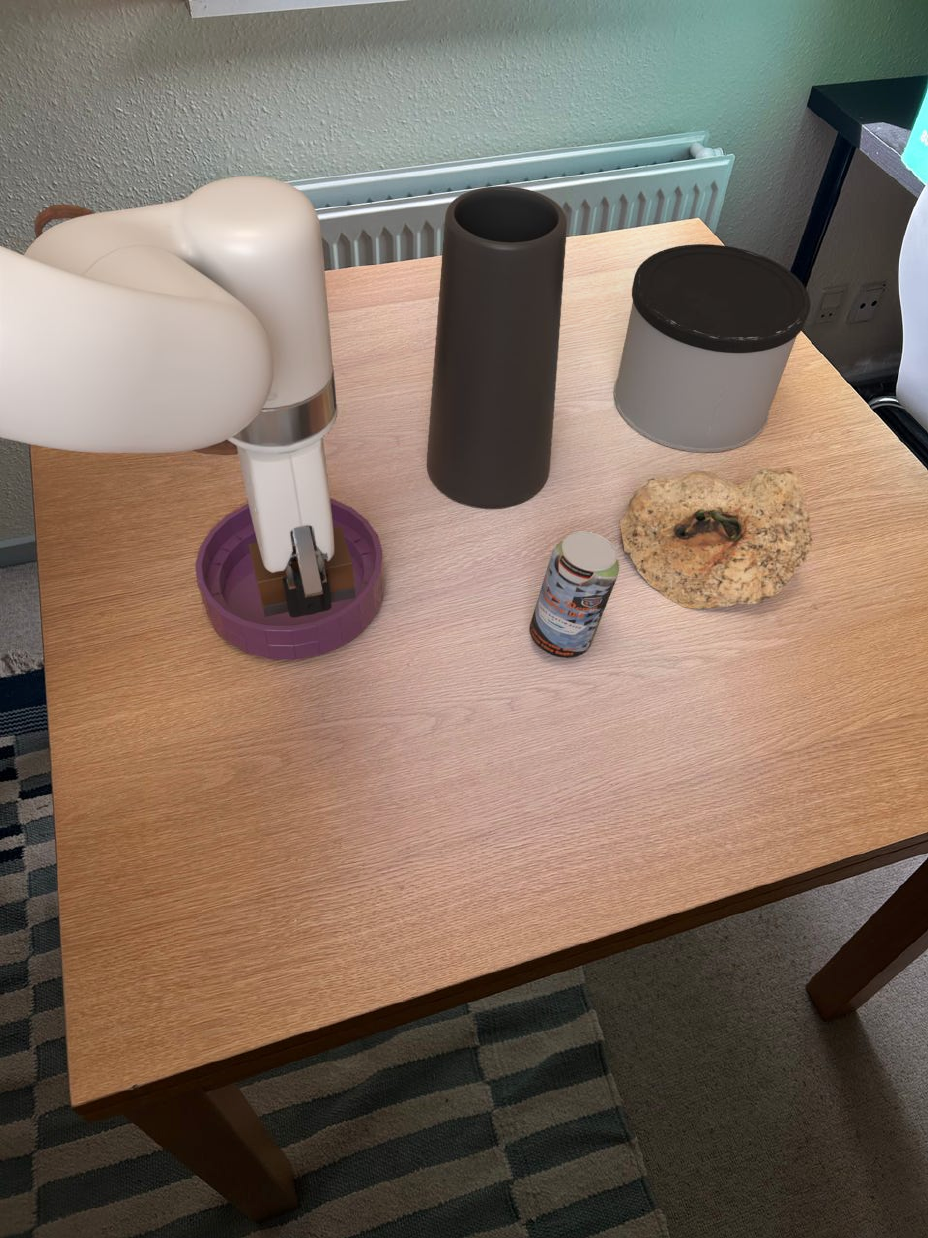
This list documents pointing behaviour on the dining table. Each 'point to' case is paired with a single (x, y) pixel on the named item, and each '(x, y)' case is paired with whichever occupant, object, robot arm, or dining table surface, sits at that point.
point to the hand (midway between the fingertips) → (303, 586)
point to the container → (707, 345)
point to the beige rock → (718, 536)
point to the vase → (496, 346)
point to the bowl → (281, 636)
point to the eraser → (273, 582)
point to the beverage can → (574, 594)
